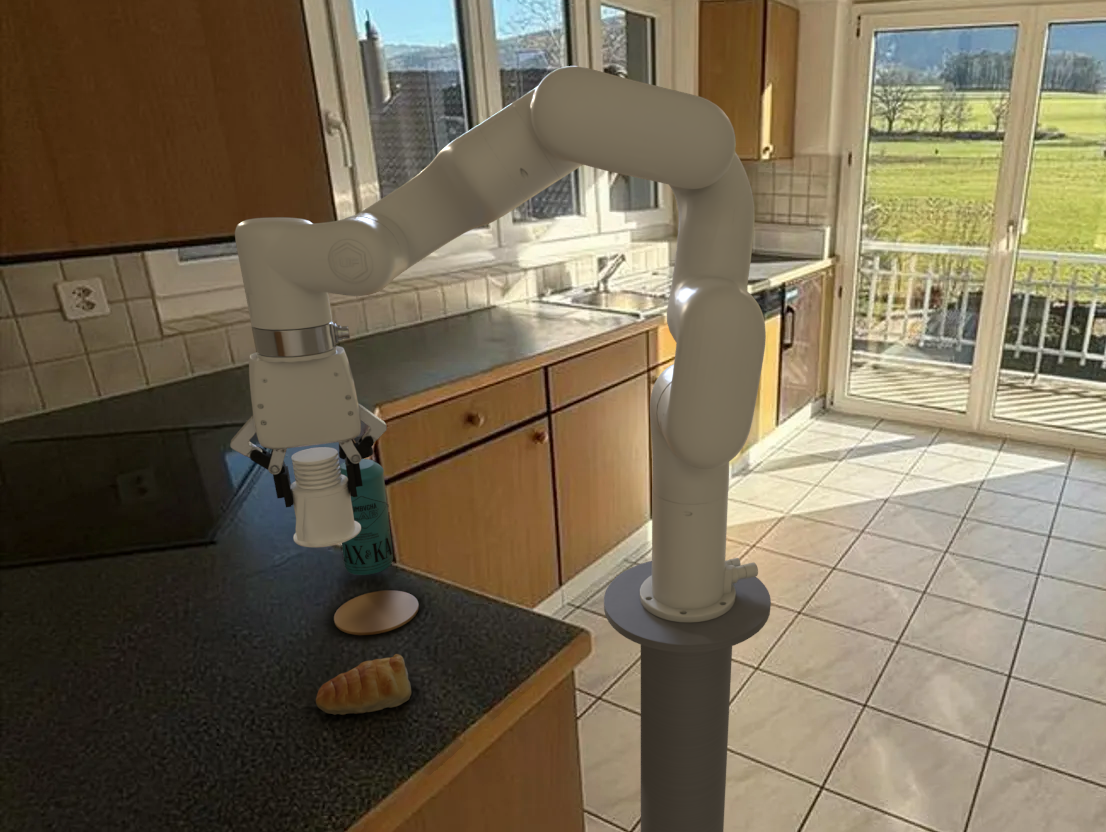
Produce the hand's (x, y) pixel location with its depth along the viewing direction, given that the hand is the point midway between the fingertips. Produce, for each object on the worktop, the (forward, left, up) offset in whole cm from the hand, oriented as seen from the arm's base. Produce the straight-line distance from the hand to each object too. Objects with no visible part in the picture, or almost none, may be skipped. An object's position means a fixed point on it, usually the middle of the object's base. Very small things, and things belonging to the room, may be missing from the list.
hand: (321, 496), depth 89 cm
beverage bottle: (-4, -16, -19) cm, 25 cm away
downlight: (0, 0, -5) cm, 5 cm away
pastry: (-2, +13, -19) cm, 23 cm away
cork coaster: (-4, -5, -19) cm, 20 cm away
